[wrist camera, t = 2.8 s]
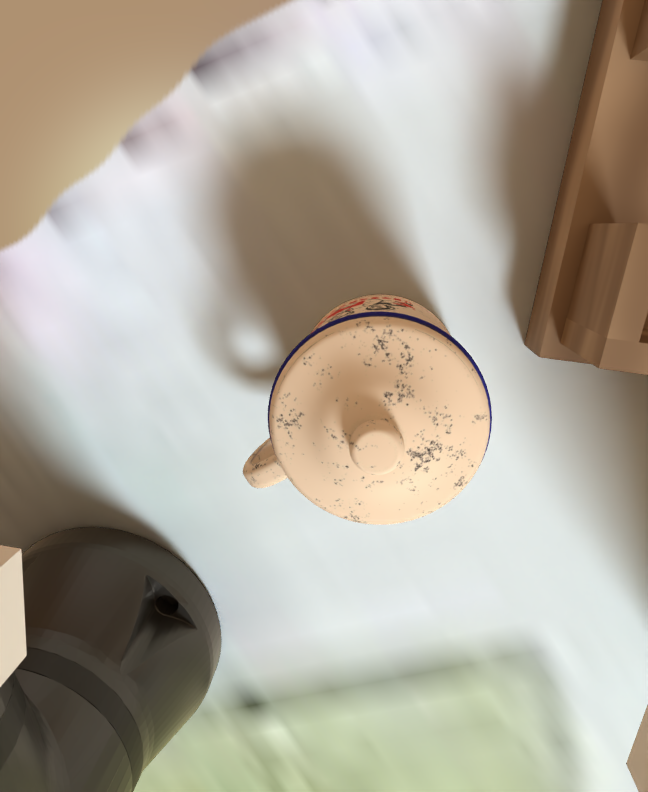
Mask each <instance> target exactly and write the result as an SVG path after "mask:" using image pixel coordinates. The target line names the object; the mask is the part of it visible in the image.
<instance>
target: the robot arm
mask: <svg viewBox="0 0 648 792" xmlns="http://www.w3.org/2000/svg"><path fill="white" fill-rule="evenodd" d="M220 652H221V630H220V624H219V619H218V616H217V613H216V610H215V607H214V605H213V603H212V601H211V599H210V597H209V595H208V593H207V591H206V590H205V588H204V587H203V585H202V584H201V582H200V581H199V580H198V579H197V577H196V576H195V575H194V574H193V573H192V572H191V571H190V569H189V568H187V567H186V566H185V565H184V564H183V563H182V562H181V561H180V560H179V559H177V558H176V557H175V556H173V555H172V554H171V553H169V552H168V551H166V550H165V549H163V548H162V547H160V546H158V545H156V544H155V543H153V542H151V541H149V540H146V539H144V538H142V537H139V536H137V535H134V534H131V533H127V532H124V531H120V530H115V529H108V528H98V527H84V528H75V529H69V530H65V531H61V532H58V533H55V534H52V535H50V536H47V537H45V538H43V539H42V540H40V541H38V542H37V543H35V544H34V545H32V546H31V547H30V548H29V549H27V550H26V551H25V552H24V553H23V554H22V552H21V549H20V548H14V547H8V546H2V545H0V792H133V791H134V788H135V786H136V784H137V782H138V780H139V778H140V775H141V773H142V771H143V770H144V769H145V768H146V767H147V766H148V764H149V763H150V762H151V761H152V760H153V759H154V758H155V757H156V755H157V754H158V753H159V752H160V751H161V750H162V749H163V748H164V746H165V745H166V744H167V743H168V742H169V741H170V740H171V739H172V738H173V736H174V735H175V734H176V733H177V732H178V731H179V730H180V729H181V727H182V726H183V725H184V724H185V723H186V722H187V721H188V719H189V718H190V717H191V716H192V715H193V714H194V713H195V711H196V710H197V709H198V707H199V706H200V704H201V702H202V701H203V699H204V697H205V695H206V693H207V691H208V689H209V686H210V683H211V681H212V678H213V676H214V673H215V670H216V668H217V665H218V662H219V657H220ZM626 764H627V766H628V769H629V771H630V773H631V775H632V777H633V780H634V782H635V784H636V786H637V789H638V791H639V792H648V706H647V708H646V711H645V714H644V716H643V719H642V722H641V725H640V727H639V730H638V733H637V736H636V738H635V741H634V744H633V747H632V749H631V752H630V755H629V757H628V760H627V763H626Z"/></svg>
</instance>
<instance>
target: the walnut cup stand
mask: <svg viewBox="0 0 648 792" xmlns="http://www.w3.org/2000/svg"><path fill="white" fill-rule="evenodd" d="M524 345H525V346H527V347H528V348H529V349H530V350H531V351H533V352H534V353H535V354H536V355H537V356H539V357H542V358H549V359H557V360H564V361H572V362H579V363H587V364H593V365H594V366H596V367H598V368H600V369H607V370H615V371H622V372H630V373H637V374H645V375H648V0H603V1H602V5H601V10H600V14H599V18H598V23H597V27H596V32H595V36H594V40H593V45H592V49H591V54H590V58H589V62H588V67H587V71H586V76H585V80H584V84H583V89H582V93H581V98H580V102H579V106H578V111H577V115H576V120H575V124H574V128H573V133H572V137H571V142H570V146H569V150H568V155H567V159H566V164H565V168H564V172H563V177H562V181H561V186H560V190H559V194H558V199H557V203H556V208H555V212H554V216H553V221H552V225H551V230H550V234H549V238H548V243H547V247H546V252H545V256H544V260H543V265H542V269H541V274H540V278H539V283H538V287H537V291H536V296H535V300H534V305H533V309H532V313H531V318H530V322H529V327H528V331H527V335H526V340H525V344H524Z"/></svg>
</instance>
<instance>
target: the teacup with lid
mask: <svg viewBox="0 0 648 792" xmlns="http://www.w3.org/2000/svg"><path fill="white" fill-rule="evenodd" d="M491 422H492V414H491V403H490V397H489V393H488V390H487V386H486V383H485V381H484V378H483V376H482V374H481V372H480V370H479V368H478V366H477V365H476V363H475V362H474V360H473V359H472V357H471V356H470V355H469V353H468V352H467V351H466V350H465V349H464V348H463V347H462V346H461V345H460V344H459V343H458V342H457V341H456V340H455V339H454V338H453V337H451V335H450V334H449V332H448V330H447V329H446V327H445V326H444V325H443V324H442V322H441V321H440V320H439V319H438V318H437V317H436V316H435V315H434V314H433V313H431V312H430V311H429V310H428V309H426V308H424V307H423V306H421V305H420V304H418V303H416V302H414V301H411V300H409V299H406V298H402V297H399V296H393V295H384V294H377V295H366V296H362V297H358V298H355V299H352V300H349V301H347V302H345V303H343V304H341V305H339V306H337V307H336V308H334V309H333V310H331V311H330V312H329V313H328V314H326V315H325V316H324V317H323V318H322V319H321V320H320V321H319V322H318V324H317V325H316V326H315V328H314V329H313V330H312V332H311V333H310V334H309V335H308V336H307V337H306V338H305V339H303V340H302V341H301V342H300V343H299V344H298V345H297V346H296V347H295V348H294V349H293V350H292V352H291V353H290V354H289V356H288V357H287V358H286V360H285V361H284V363H283V365H282V366H281V368H280V370H279V372H278V374H277V376H276V378H275V381H274V384H273V386H272V390H271V394H270V399H269V406H268V428H269V434H270V438H269V439H267V440H266V441H265V442H264V443H263V444H262V445H261V446H259V447H258V448H257V449H256V450H255V451H254V453H253V454H252V455H251V456H250V457H249V458H248V460H247V461H246V463H245V465H244V468H243V474H244V476H245V478H246V479H247V481H248V482H249V483H250V485H251V486H253V487H255V488H265V487H269V486H272V485H274V484H276V483H278V482H280V481H282V480H284V479H286V478H288V479H289V480H290V481H291V482H292V484H293V485H294V486H295V487H296V488H297V489H298V490H299V491H300V492H301V493H302V494H303V495H304V496H305V497H306V498H307V499H308V500H310V501H311V502H312V503H314V504H315V505H317V506H318V507H320V508H322V509H323V510H325V511H327V512H329V513H331V514H333V515H336V516H338V517H341V518H343V519H347V520H350V521H354V522H359V523H366V524H382V525H383V524H395V523H402V522H406V521H410V520H414V519H417V518H420V517H423V516H425V515H427V514H430V513H432V512H434V511H435V510H437V509H439V508H441V507H442V506H444V505H445V504H447V503H448V502H450V501H451V500H452V499H453V498H454V497H456V496H457V495H458V494H459V493H460V492H461V491H462V490H463V489H464V488H465V486H466V485H467V484H468V483H469V481H470V480H471V479H472V477H473V476H474V474H475V473H476V471H477V469H478V467H479V466H480V464H481V462H482V460H483V457H484V455H485V452H486V450H487V446H488V443H489V439H490V433H491Z"/></svg>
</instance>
